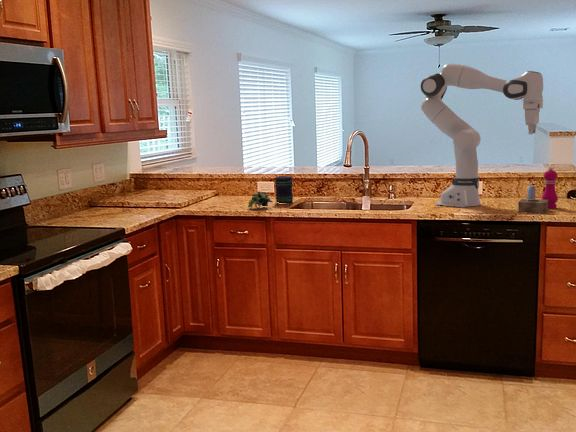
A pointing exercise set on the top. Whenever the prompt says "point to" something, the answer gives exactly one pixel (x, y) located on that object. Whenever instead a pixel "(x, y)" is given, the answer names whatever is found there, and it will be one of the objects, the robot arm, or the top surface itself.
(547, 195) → the pepper mill
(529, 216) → the top surface
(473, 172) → the robot arm
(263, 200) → the potted plant
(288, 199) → the storage jar
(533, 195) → the peg
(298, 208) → the top surface
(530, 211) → the socket block
